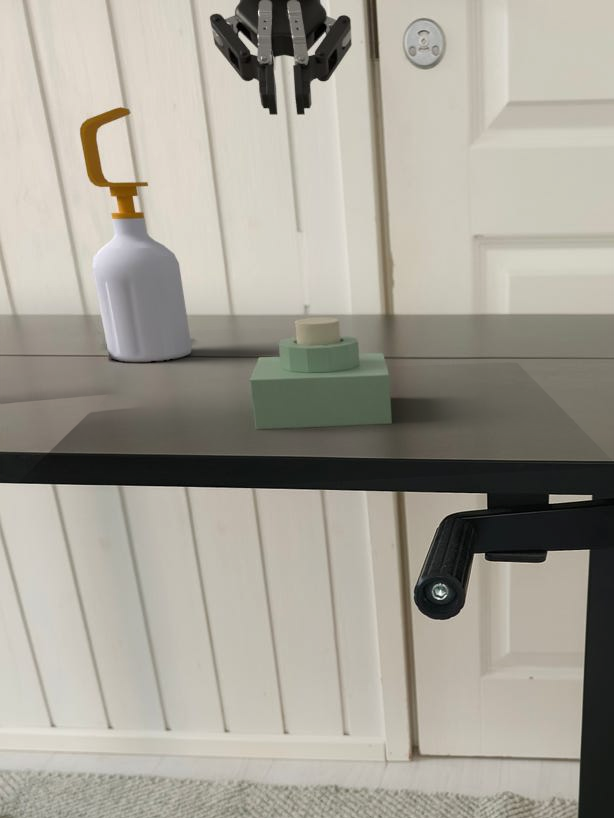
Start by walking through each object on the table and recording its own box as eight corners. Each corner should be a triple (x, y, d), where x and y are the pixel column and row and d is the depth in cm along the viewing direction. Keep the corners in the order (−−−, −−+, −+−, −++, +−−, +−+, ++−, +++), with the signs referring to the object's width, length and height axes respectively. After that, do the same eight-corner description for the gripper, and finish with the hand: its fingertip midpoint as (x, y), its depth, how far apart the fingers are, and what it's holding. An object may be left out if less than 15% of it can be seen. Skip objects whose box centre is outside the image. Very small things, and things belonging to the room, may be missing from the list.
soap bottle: (183, 362, 101) (143, 105, 90) (99, 364, 100) (48, 105, 89) (199, 348, 109) (165, 110, 98) (122, 350, 108) (78, 111, 97)
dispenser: (255, 430, 74) (246, 353, 71) (264, 402, 83) (255, 333, 80) (391, 424, 75) (387, 348, 72) (385, 397, 84) (381, 329, 81)
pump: (296, 350, 75) (293, 324, 74) (298, 343, 78) (295, 318, 77) (341, 349, 75) (339, 322, 74) (340, 341, 78) (338, 316, 77)
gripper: (197, -74, 84) (200, 69, 79) (348, -71, 85) (361, 69, 80) (212, 5, 91) (216, 141, 86) (352, 6, 93) (363, 140, 87)
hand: (286, 106), depth 83 cm, fingers closed
